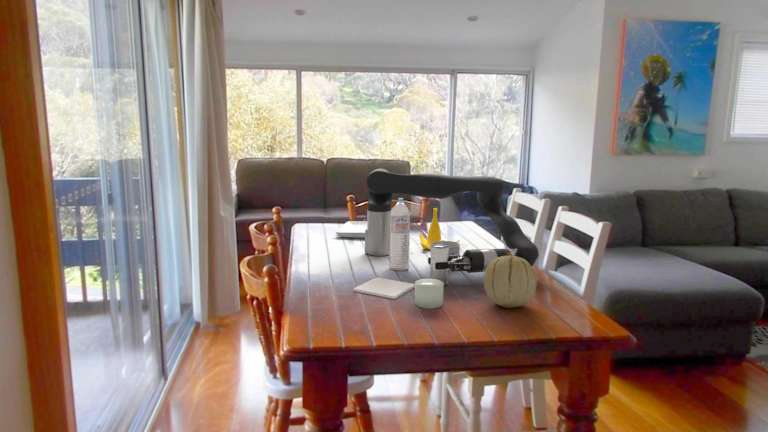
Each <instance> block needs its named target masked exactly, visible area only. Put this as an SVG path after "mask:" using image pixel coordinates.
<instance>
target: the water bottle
mask: <svg viewBox="0 0 768 432" xmlns="http://www.w3.org/2000/svg"><path fill="white" fill-rule="evenodd" d="M397 201H398V202H397V203H396V204H395V205H393V206H392V207H391V232H390V254H389V268H390V270H393V271H397V272H399V271H400V272H401V271H407V270H408V269H409V266H410V245H411V243H410V242H411V241H410V240H411V239H410V238H411V237H410V236H411V233H410V229H411V225H410V224H411V209H410V207H409V206H408V205H407V204H406V203H404V198H403V197H399V198H398V199H397Z"/></svg>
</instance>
